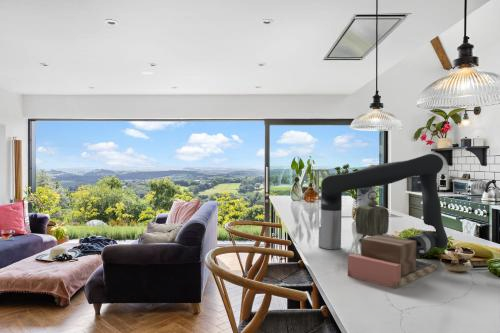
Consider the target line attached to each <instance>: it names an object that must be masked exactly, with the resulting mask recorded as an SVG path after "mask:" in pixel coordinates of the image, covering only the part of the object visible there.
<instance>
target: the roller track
mask: <svg viewBox="0 0 500 333" xmlns="http://www.w3.org/2000/svg"><path fill="white" fill-rule="evenodd" d="M434 271H437V264H435V263H429V262H425V261H419V260H416V270H414V271H412V272H409V273H407V274H405V275H402V276H401V264H397V263H392V262H388V261H383V260H378V259H374V258H369V257H365V256H361V254H360V255H359V254H354V253H351V254H347V276H348V277H351V278H355V279H357V280H358V279H359V280H362V281H367V282H370V283H373V282H374V284H377V283H378V285H381V284H382V285H381V286H385V285H386V286H385V287H388V286H390V287H389V288H392V287H394V288H393V289H398V288H397V287H399V288H400V286H401V287H403V286H405V285H407V284H409V283H411V282H413V281H415V280H417V279H419V278H422V277H424V276H425V275H428V274H430V273H432V272H434ZM406 283H407V284H406ZM404 284H405V285H404ZM402 285H403V286H402Z"/></svg>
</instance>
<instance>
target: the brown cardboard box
mask: <svg viewBox="0 0 500 333" xmlns="http://www.w3.org/2000/svg"><path fill="white" fill-rule="evenodd" d="M360 239H361V238H360ZM360 243H361V244H360V245H361V246H360V250H361V251H360V256H365V257H369V258H374V259H378V260H383V261H388V262H392V263H397V264H401V276H402V275H405V274H407V273H409V272H412V271H414V270H416V261H417V256H416V241H415V240H409V239H406V238H401V237H395V236H390V235H385V234H383V235H375V236H366V237H364V238H363V239H361V242H360Z"/></svg>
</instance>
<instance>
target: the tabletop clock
mask: <svg viewBox="0 0 500 333" xmlns="http://www.w3.org/2000/svg"><path fill="white" fill-rule="evenodd" d="M370 193H376V198H374V197H372V198H369V194H370ZM369 194H368V198H369V199H370V200H371V201H369V202H368V203H367V205H362V206H359V207H358V208H357V207H356V210H355V231H356V233H357V234H359V235H362V236H361V238H359V239H358V242H360V243H361V239H363V238H366V237H371V236H375V235H386V234H387V233H388V232H389V224H390V220H389V219H390V218H389V216H390V214H389V210H388V209H387V208H386V207H385V206H381V205H379V204H378V202H377V198H378V192H377V191H376V192H375V191H371V192H369ZM375 199H376V201H374V200H375ZM374 205H376V206H374Z"/></svg>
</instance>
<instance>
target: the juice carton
mask: <svg viewBox="0 0 500 333" xmlns="http://www.w3.org/2000/svg"><path fill="white" fill-rule="evenodd" d="M356 191H357V192H356V209H357V208H358V207H359V206H362V205H367V203H368V202H369V201H371V200H370V199H369V198H372V197H374V198H376V196H377V195H376V193H377V190H376V187H369V188H358V189H356ZM371 191H375V192H376V193H370V194H369V192H371ZM368 194H369V198H368ZM374 201H376V202H377V198H376V199H375V200H374ZM374 206H377V205H374Z"/></svg>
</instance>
